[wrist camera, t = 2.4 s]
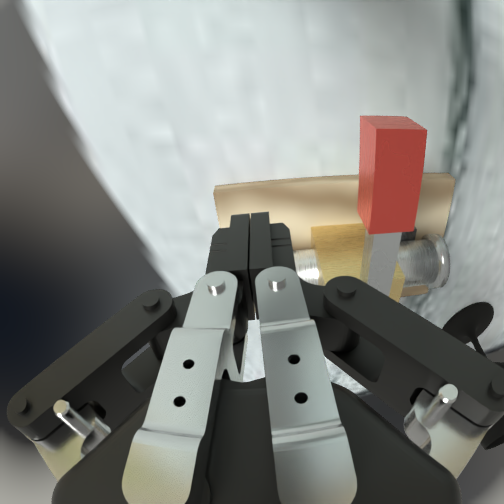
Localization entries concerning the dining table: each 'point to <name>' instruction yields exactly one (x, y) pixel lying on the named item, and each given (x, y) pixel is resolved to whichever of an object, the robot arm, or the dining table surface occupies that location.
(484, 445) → the wine glass
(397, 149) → the lever
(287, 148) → the dining table surface
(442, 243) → the valve
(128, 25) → the dining table surface
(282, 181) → the mounting board
